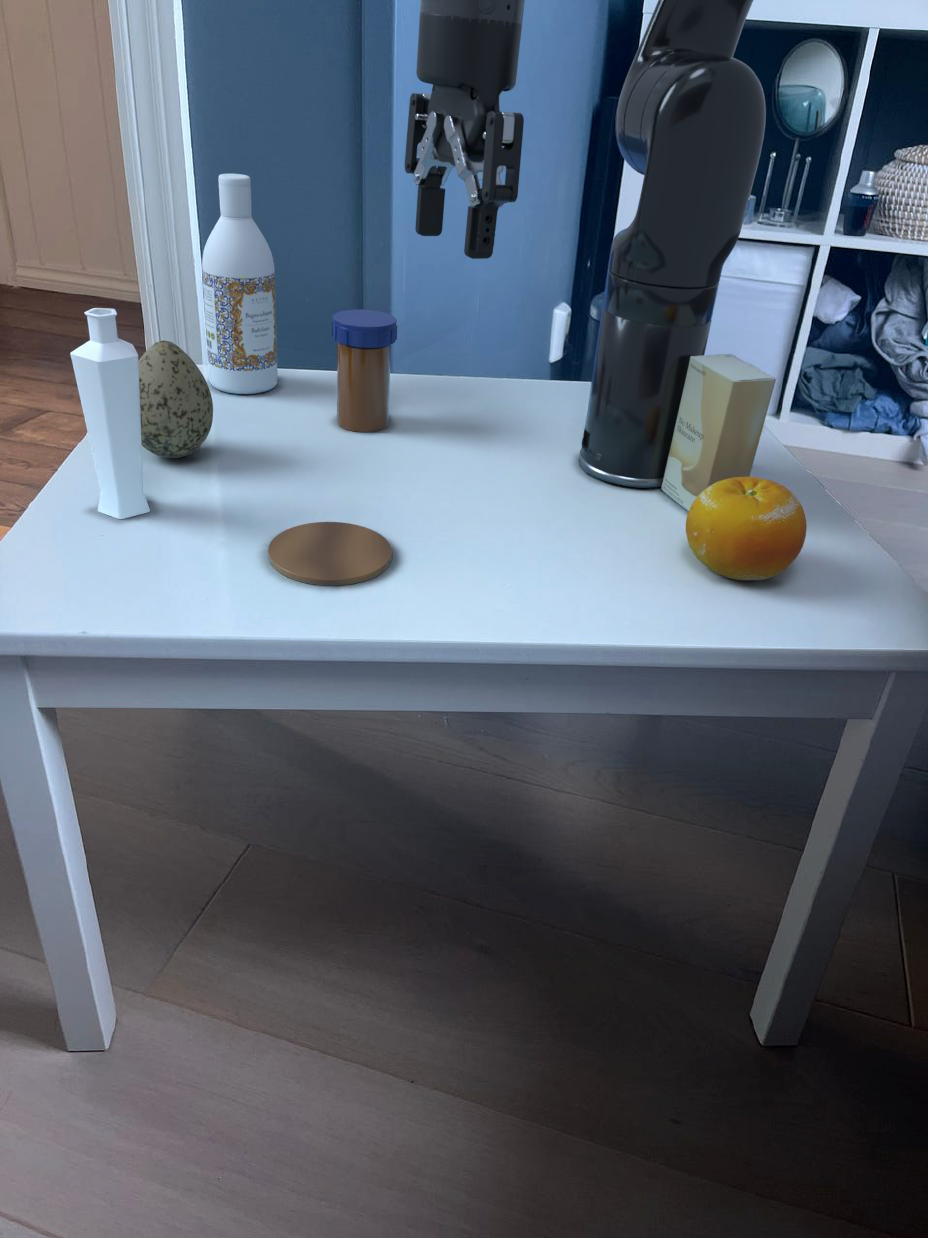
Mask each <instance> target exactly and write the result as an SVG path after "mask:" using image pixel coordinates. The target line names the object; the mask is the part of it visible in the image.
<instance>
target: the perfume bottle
mask: <svg viewBox="0 0 928 1238" xmlns="http://www.w3.org/2000/svg"><path fill="white" fill-rule="evenodd" d="M83 313H84V315H85V316H86V319H87V326H88V333H89V340H88V341H86V342H85V343H83V344H82V345H79V346H78V347H77V348H75V349H74V350H72V351H71V352H70V353H69V354H70V358H71V363H72V367H73V372H74V377H75V381H76V386H77V391H78V394H79V399H80V403H81V408H82V412H83V418H84V421H85V422H84V423H85V426H86V431H87V435H88V441H89V445H90V449H91V453H92V458H93V463H94V467H95V473H96V476H97V481H98V486H99V491H100V493H99V499H98V505H97V512H98V513H101V514H104V515H107V516H110V517H112V518H115V519H117V520H125V519H129V518H132V517H136V516H139V515H143V514H148V513H150V512H151V509H150V506H149V503H148V500H147V497H146V495H145V492H144V476H143V475H144V474H143V473H144V472H143V448H142V447H143V446H142V444H141V417H140V391H139V364H138V361H139V353H138V352H137V349H136V348H135V345H134V344H133V343H131V342H129V341H126V340H123V339H121V338H119V336H118V327H117V319H116V317H117V315H118V312H117V311H116V309H115V308H106V307H105V308H103V307H94V308H93V307H92V308H91V309H88V310H86V311H84V312H83Z"/></svg>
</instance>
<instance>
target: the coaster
mask: <svg viewBox="0 0 928 1238" xmlns="http://www.w3.org/2000/svg"><path fill="white" fill-rule="evenodd" d="M267 557H268V561H269V563H270V565H271V566H272V568H274V569H275V570H276V571H277V572H279V573H280V574H281V575H283V576H285V577H287V578H289V579H291V580H294V581H296V582H301V583H306V584H309V585H316V586H346V585H353V584H359V583H361V582H365V581H368V580H371V579H374V578H376V577H377V576H379V575H381V574H382V573H384V572H385V571H386V570H387V569H388V568H389V566H390V565H391V562H392V559H393V548H392V545H391V543H390V542H389V541H388V539H387V538H386V537H384V536H383V535H382V534H381V533H379V532H378V531H375V530H374V529H371V528H368V527H365V526H362V525H359V524H355V523H349V522H341V521H318V522H308V523H303V524H300V525H296V526H292V527H290V528H287V529H284V530H283V531H281V532H280V533H278V534H277V535H276V536H274V537H273V538H272V540H271V541H270V542H269V544H268V549H267Z"/></svg>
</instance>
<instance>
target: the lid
mask: <svg viewBox="0 0 928 1238" xmlns="http://www.w3.org/2000/svg"><path fill="white" fill-rule="evenodd" d="M397 322H398V321H397V317H395V316H394V315H393V314H390V313H387V312H383V311H379V310H372V309H346V310H341V311H338V312H336V313H334V314H333V315H332V321H331V336H332V339H333V340H334V341H335V342H336V343H337V342H338V343H341V344H344V345H348V346H352V347H361V348H378V347H385V346H389V345H391V346H392V345H393V344H395V343H396V341H397V340H398V325H397Z"/></svg>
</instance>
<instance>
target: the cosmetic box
mask: <svg viewBox="0 0 928 1238" xmlns="http://www.w3.org/2000/svg"><path fill="white" fill-rule="evenodd" d="M776 381H777V377H775V376H773V375H770V374H769V373H767V372H765V371H763V370H762V369H760V368H759V367H757V366H756V365H754V364H752V363H750V362H747V361H744V360H743V359H741V358H739V357H738V356H736V355H734V354H732V353H720V354H705V355H700V356H691V357H690V361H689V366H688V371H687V375H686V380H685V384H684V389H683V393H682V398H681V402H680V407H679V411H678V416H677V420H676V425H675V429H674V434H673V438H672V443H671V447H670V452H669V456H668V461H667V465H666V470H665V474H664V479H663V483H662V486H661V491H662V492H664V493H665V494H666V495H667V496H668V497H670V498H671V499H672V500H673V501H675V502H676V503H677V504H678V505H680V507H682V508H684V510H686V511H688V512H689V509H690V507H691V505H692V503H693V502H694V500H695V499H696V498H697V496H698V495H699V494H700V493H701V492H703V491H704V490H705V489H706V488H708V487H709V486H711V485H712V484H714V483H716V482H719V481H721V480H725V479H729V478H734V477H751V473H752V468H753V465H754V461H755V458H756V455H757V450H758V447H759V444H760V440H761V436H762V433H763V428H764V425H765V421H766V417H767V414H768V410H769V406H770V404H771V403H770V402H771V400H772V396H773V392H774V389H775V385H776Z"/></svg>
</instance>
